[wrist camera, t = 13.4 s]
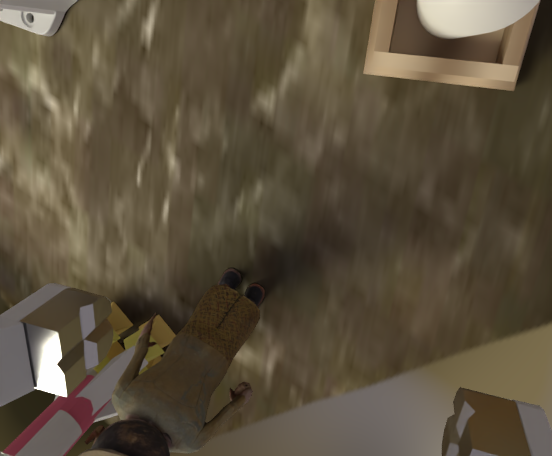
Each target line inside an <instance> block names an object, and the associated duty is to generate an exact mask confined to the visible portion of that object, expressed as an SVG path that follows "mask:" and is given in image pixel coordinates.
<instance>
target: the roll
mask: <svg viewBox="0 0 552 456" xmlns="http://www.w3.org/2000/svg"><path fill="white" fill-rule="evenodd" d="M539 1H540V0H417V3H416V9H417V16H418V19H419V21H420V23H421V25H422V27H423V28H424V29H425V30H426V31H427V32H428V33H429V34H431V35H432V36H434V37H437V38H440V39H456V38H462V37H468V36H473V35H479V34H484V33H489V32H493V31H497V30H500V29H502V28H505V27H507V26H509V25H511V24H513V23H515V22H516V21H518V20H519V19H521V18H522V17H523V16H525V15H526V14H527V13H528V12H530V11H531V10H532V9H533V8H534V7H535V6H536V5H537V3H538V2H539Z"/></svg>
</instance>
